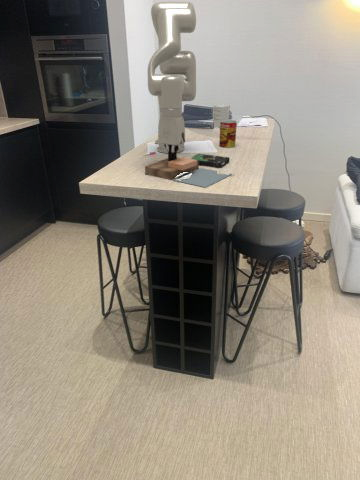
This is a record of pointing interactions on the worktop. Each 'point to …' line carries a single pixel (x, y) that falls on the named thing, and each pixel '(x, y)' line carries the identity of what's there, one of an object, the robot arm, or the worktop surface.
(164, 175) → the block
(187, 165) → the terracotta tile
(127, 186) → the worktop surface
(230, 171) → the worktop surface
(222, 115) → the supplement box
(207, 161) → the disk drive
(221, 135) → the canned food
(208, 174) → the slate mat
